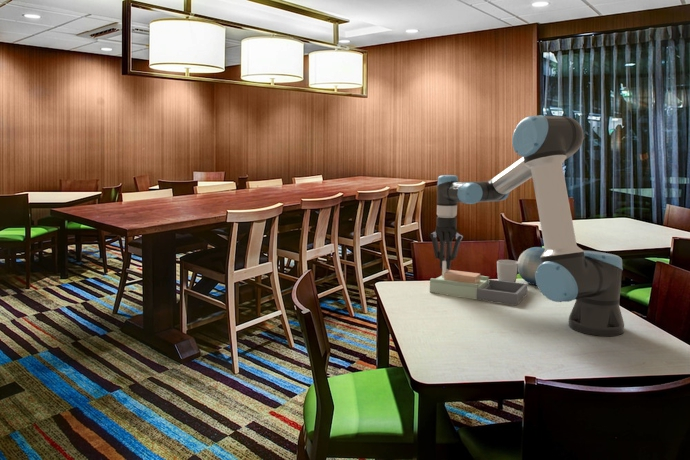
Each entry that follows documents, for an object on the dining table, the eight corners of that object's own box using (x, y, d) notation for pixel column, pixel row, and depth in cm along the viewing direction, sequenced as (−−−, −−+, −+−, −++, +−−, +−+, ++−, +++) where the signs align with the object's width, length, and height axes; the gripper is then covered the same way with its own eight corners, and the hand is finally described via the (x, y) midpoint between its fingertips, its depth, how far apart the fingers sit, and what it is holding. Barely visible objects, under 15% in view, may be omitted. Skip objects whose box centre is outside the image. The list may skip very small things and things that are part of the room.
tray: (516, 305, 179) (517, 294, 179) (476, 299, 187) (477, 288, 186) (526, 294, 193) (527, 283, 192) (489, 289, 200) (489, 279, 199)
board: (476, 299, 187) (477, 285, 186) (429, 292, 196) (429, 278, 196) (488, 289, 200) (488, 276, 199) (443, 283, 209) (444, 270, 208)
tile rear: (459, 282, 194) (459, 274, 194) (444, 280, 197) (444, 273, 197) (464, 279, 199) (464, 271, 199) (449, 277, 203) (449, 269, 202)
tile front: (475, 284, 191) (475, 276, 191) (459, 282, 194) (459, 274, 194) (480, 281, 196) (480, 273, 196) (464, 279, 199) (464, 271, 199)
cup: (520, 289, 199) (521, 264, 198) (499, 289, 200) (500, 264, 198) (513, 284, 207) (515, 259, 206) (493, 284, 208) (494, 259, 206)
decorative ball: (553, 291, 197) (555, 252, 195) (512, 286, 205) (514, 248, 202) (558, 282, 210) (561, 245, 208) (520, 278, 217) (522, 242, 215)
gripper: (466, 216, 196) (464, 277, 200) (434, 214, 203) (432, 273, 207) (460, 218, 190) (458, 281, 194) (426, 216, 197) (425, 277, 200)
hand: (445, 277), depth 200 cm, fingers closed
